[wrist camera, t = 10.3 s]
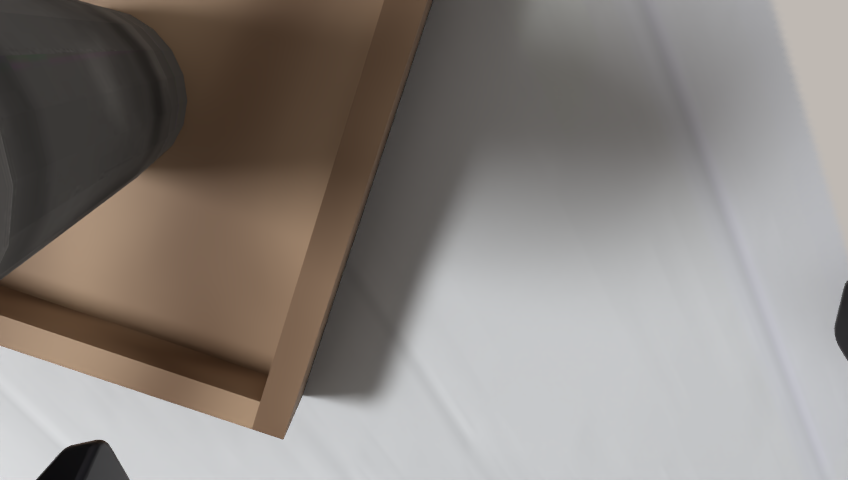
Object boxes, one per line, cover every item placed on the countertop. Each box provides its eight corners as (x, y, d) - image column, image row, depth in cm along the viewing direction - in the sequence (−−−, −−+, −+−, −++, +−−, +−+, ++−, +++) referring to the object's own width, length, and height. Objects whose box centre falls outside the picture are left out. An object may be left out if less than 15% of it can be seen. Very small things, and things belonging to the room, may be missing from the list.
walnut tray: (465, -100, 19) (465, -116, 16) (302, 396, 24) (283, 439, 21) (-280, -378, 18) (-396, -438, 15) (-287, 199, 23) (-374, 221, 20)
